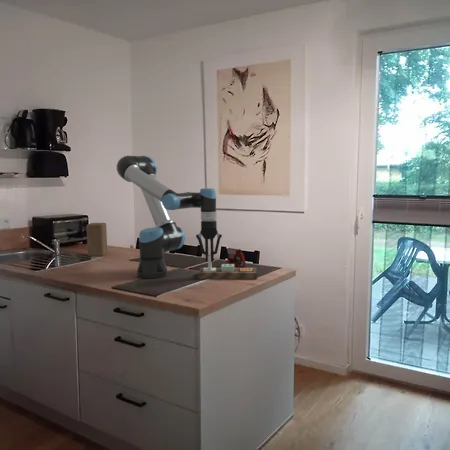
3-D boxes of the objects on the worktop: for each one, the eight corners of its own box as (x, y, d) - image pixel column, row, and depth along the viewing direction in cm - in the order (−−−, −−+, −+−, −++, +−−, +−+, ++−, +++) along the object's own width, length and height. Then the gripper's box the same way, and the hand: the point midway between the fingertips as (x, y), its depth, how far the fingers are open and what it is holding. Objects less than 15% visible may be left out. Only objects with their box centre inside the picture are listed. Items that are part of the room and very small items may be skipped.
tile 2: (221, 273, 217) (221, 266, 217) (222, 270, 223) (222, 263, 223) (233, 273, 217) (233, 266, 216) (234, 270, 223) (234, 263, 222)
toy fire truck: (239, 270, 233) (239, 250, 232) (223, 267, 242) (223, 248, 241) (248, 268, 237) (248, 249, 236) (232, 265, 247) (232, 246, 245)
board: (198, 279, 215) (197, 272, 215) (201, 273, 227) (200, 267, 227) (256, 279, 213) (256, 273, 213) (256, 273, 225) (256, 267, 225)
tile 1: (202, 276, 218) (202, 269, 218) (204, 274, 224) (204, 267, 223) (215, 276, 218) (215, 269, 217) (216, 274, 223) (216, 267, 223)
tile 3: (239, 277, 217) (239, 270, 216) (240, 274, 223) (240, 267, 222) (252, 277, 216) (252, 270, 216) (252, 274, 222) (252, 267, 222)
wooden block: (103, 256, 279) (102, 224, 276) (87, 256, 279) (85, 224, 276) (107, 253, 289) (106, 222, 286) (92, 253, 289) (90, 222, 286)
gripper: (194, 221, 214) (195, 269, 217) (221, 220, 213) (222, 269, 216) (196, 219, 222) (197, 266, 224) (222, 219, 221) (223, 266, 223)
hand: (209, 268), depth 220 cm, fingers closed
